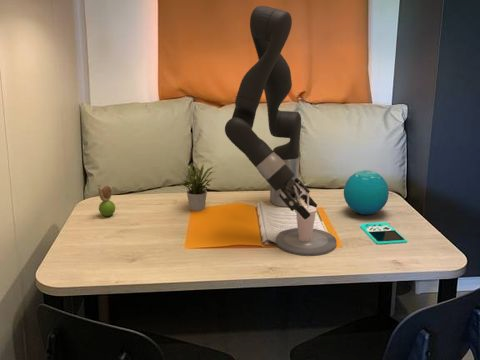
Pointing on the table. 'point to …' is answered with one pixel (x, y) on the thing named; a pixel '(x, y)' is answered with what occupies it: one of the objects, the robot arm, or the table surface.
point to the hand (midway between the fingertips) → (311, 212)
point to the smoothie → (306, 222)
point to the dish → (306, 242)
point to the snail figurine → (106, 201)
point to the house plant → (197, 188)
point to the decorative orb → (366, 192)
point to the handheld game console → (382, 233)
